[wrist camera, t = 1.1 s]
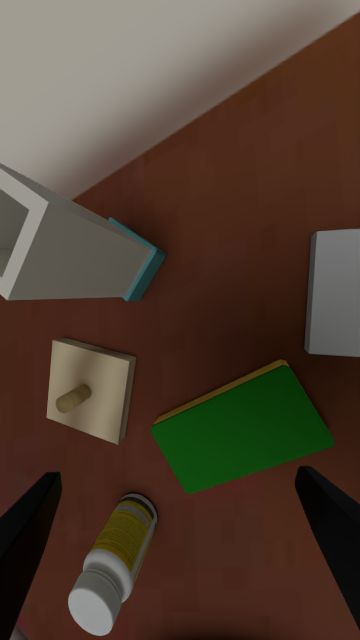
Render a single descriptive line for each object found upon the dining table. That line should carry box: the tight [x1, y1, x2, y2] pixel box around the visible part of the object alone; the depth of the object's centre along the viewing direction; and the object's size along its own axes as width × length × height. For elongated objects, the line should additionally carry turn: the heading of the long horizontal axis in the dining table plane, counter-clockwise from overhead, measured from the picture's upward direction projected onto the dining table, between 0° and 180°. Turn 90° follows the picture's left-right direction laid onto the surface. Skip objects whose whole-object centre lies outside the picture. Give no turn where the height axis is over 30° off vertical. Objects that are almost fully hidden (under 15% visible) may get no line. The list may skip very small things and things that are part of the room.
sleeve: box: [0, 163, 167, 301], centre depth 16 cm, size 5×5×13 cm
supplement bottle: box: [68, 494, 157, 636], centre depth 21 cm, size 5×5×8 cm
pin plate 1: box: [47, 338, 136, 445], centre depth 23 cm, size 9×9×4 cm
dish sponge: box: [151, 359, 335, 494], centre depth 21 cm, size 7×14×2 cm, turn 122°
